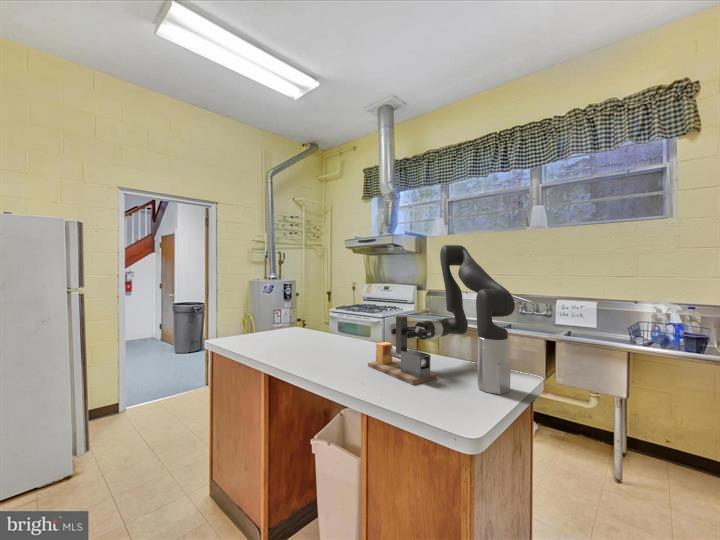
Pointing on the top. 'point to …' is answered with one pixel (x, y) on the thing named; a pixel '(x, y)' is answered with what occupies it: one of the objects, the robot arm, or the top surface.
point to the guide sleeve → (415, 363)
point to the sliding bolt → (402, 339)
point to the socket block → (383, 352)
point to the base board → (399, 372)
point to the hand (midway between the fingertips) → (399, 333)
